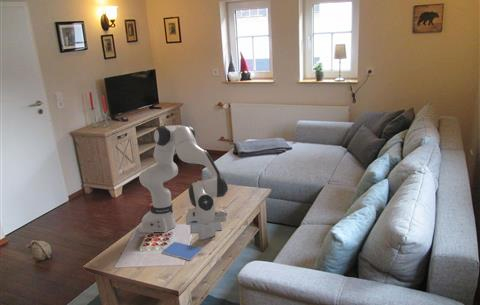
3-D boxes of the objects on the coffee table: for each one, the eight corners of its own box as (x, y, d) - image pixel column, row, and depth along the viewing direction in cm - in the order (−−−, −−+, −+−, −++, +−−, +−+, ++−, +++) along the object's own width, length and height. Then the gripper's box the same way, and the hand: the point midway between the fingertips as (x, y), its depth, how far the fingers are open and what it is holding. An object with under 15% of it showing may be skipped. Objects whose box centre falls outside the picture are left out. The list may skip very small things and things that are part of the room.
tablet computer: (160, 254, 212) (160, 251, 212) (174, 243, 223) (174, 240, 222) (190, 262, 203) (190, 259, 203) (203, 250, 214) (203, 248, 214)
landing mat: (191, 233, 231) (191, 232, 231) (190, 222, 245) (190, 222, 245) (221, 230, 234) (221, 229, 233) (220, 219, 247) (219, 219, 247)
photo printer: (213, 232, 231) (211, 213, 228) (216, 235, 228) (215, 216, 224) (197, 238, 226) (195, 218, 222) (200, 241, 222) (199, 221, 219)
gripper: (226, 206, 194) (226, 215, 206) (184, 209, 192) (186, 218, 204) (228, 218, 191) (227, 227, 203) (185, 222, 189) (186, 230, 201)
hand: (206, 223), depth 203 cm, fingers closed
